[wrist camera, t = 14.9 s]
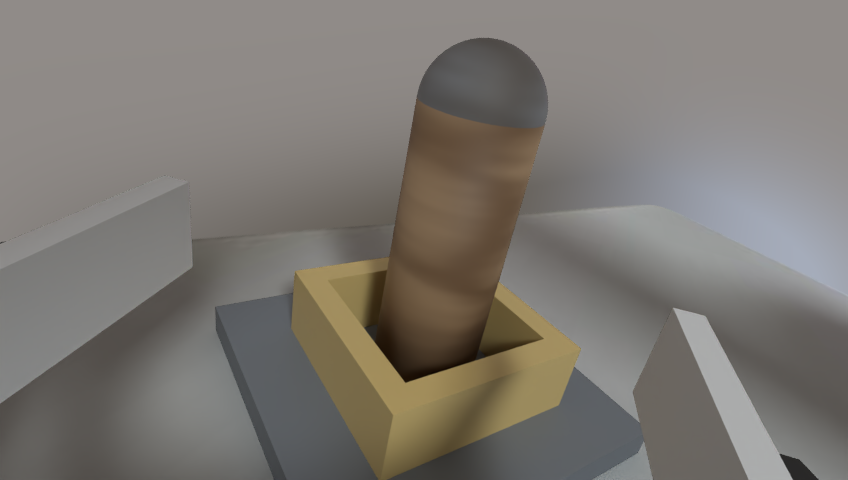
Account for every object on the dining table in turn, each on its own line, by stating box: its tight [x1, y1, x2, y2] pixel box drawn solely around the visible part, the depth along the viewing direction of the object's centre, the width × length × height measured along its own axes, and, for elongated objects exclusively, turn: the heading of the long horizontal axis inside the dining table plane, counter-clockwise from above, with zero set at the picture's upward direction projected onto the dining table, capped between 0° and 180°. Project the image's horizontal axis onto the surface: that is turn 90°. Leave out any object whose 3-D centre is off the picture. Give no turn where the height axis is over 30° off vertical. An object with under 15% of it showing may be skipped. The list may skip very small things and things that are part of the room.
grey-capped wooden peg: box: [375, 38, 548, 383], centre depth 21 cm, size 5×5×16 cm
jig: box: [215, 257, 644, 480], centre depth 24 cm, size 16×16×5 cm
